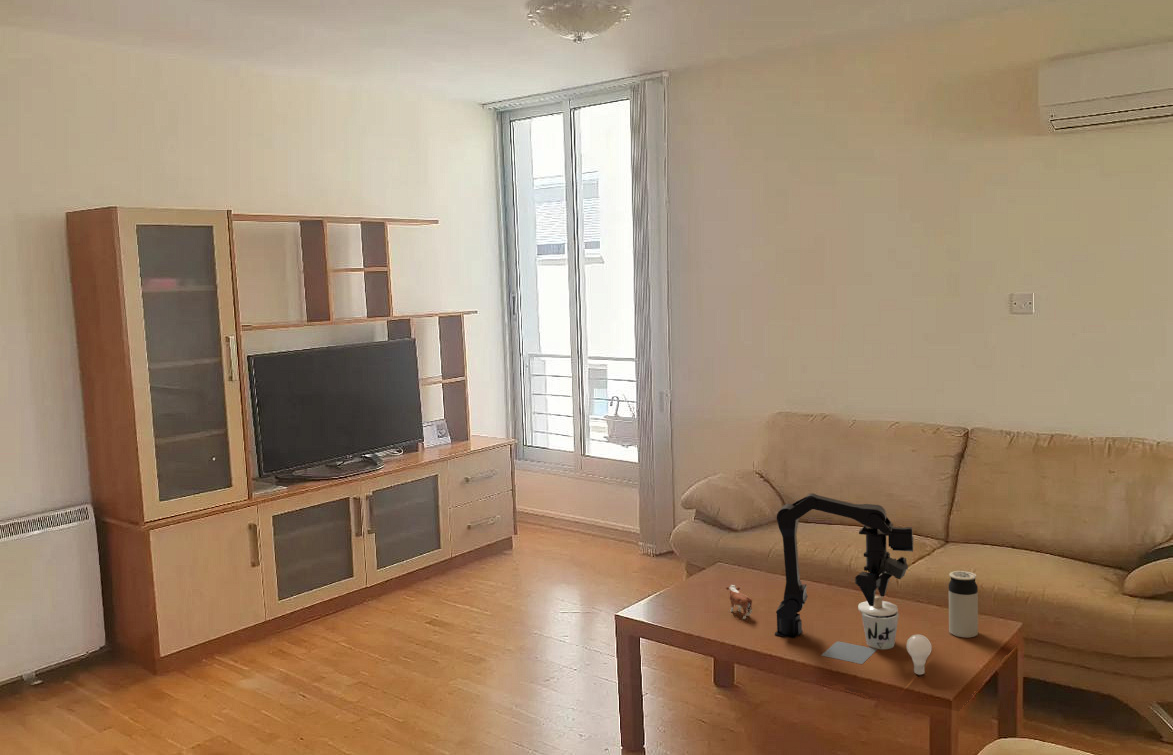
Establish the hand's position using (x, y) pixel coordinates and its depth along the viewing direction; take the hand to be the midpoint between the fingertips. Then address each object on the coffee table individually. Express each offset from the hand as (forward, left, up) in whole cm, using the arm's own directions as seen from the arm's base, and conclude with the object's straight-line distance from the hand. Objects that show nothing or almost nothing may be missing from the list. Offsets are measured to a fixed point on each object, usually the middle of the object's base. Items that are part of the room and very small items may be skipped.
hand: (877, 601), depth 269 cm
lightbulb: (+17, -16, -13) cm, 27 cm away
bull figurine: (-46, +1, -13) cm, 48 cm away
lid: (0, 0, -2) cm, 3 cm away
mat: (-4, -12, -12) cm, 18 cm away
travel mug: (+19, +19, -13) cm, 30 cm away
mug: (+1, 0, -13) cm, 13 cm away
